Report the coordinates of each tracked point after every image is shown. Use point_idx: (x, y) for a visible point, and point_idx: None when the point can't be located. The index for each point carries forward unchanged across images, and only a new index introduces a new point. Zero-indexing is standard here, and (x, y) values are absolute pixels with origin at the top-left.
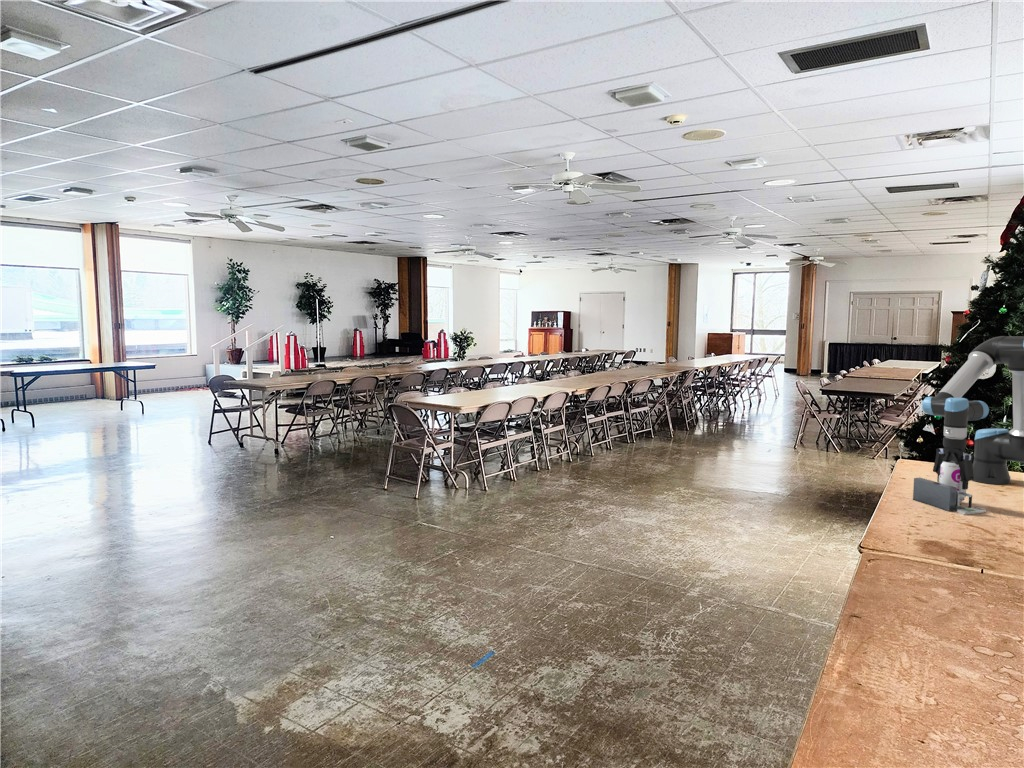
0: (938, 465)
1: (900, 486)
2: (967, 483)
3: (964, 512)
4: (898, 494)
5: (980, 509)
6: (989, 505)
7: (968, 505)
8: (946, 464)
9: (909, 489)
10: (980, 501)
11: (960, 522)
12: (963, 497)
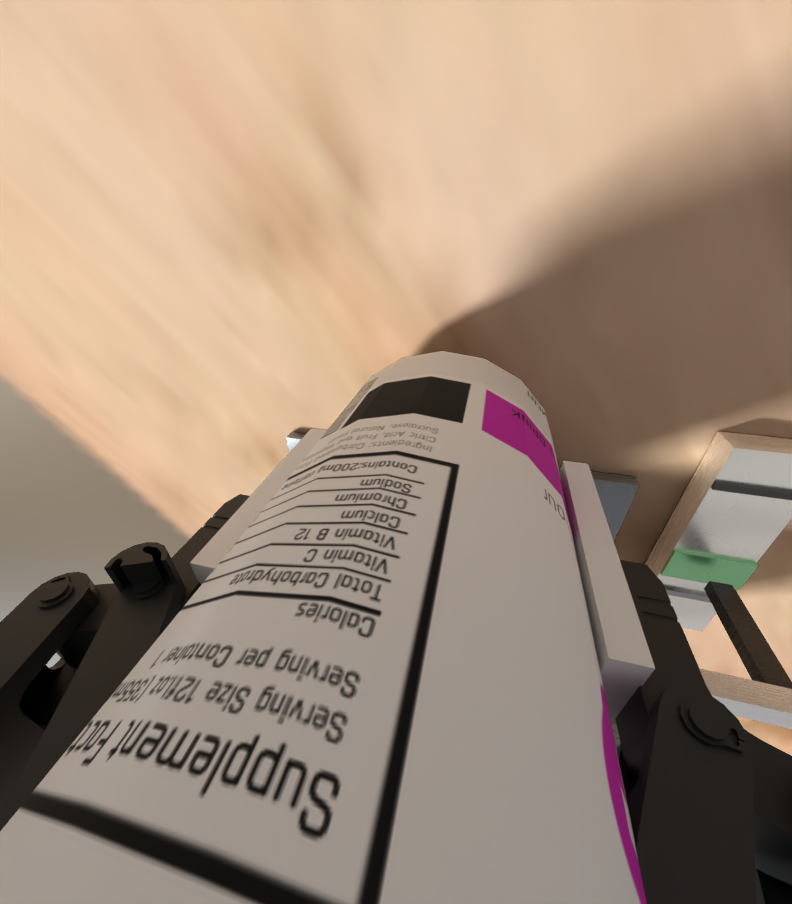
0: (17, 763)
1: (9, 353)
2: (687, 670)
3: (699, 627)
4: (203, 518)
5: (789, 501)
6: (756, 83)
7: (711, 601)
8: None
9: (79, 366)
10: (560, 6)
11: (737, 717)
12: (554, 451)
